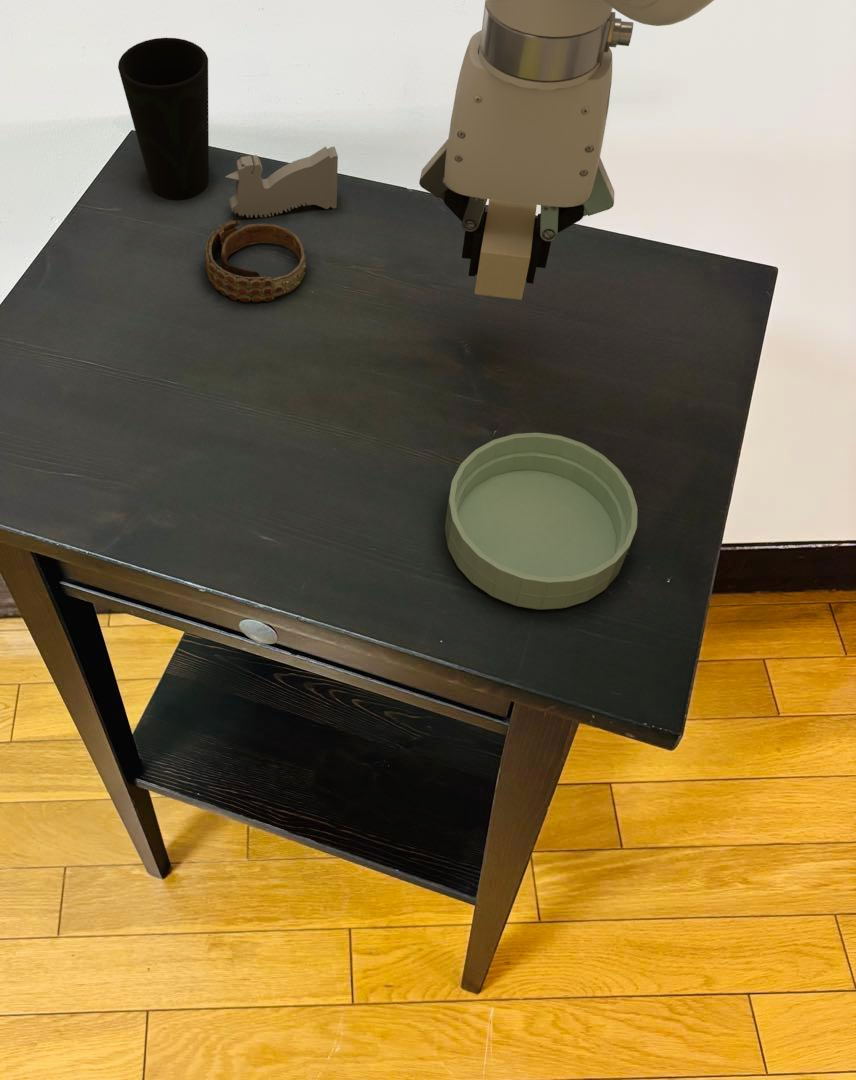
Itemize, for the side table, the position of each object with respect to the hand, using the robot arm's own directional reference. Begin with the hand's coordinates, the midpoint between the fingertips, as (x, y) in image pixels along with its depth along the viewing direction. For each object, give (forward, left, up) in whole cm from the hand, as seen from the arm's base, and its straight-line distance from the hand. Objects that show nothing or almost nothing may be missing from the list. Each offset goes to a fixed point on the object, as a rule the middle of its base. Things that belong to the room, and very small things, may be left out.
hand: (502, 265), depth 80 cm
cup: (+31, -17, -9) cm, 36 cm away
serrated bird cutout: (+20, -14, -9) cm, 27 cm away
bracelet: (+21, -6, -9) cm, 23 cm away
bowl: (-5, +18, -9) cm, 21 cm away
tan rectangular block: (0, 0, 0) cm, 0 cm away
